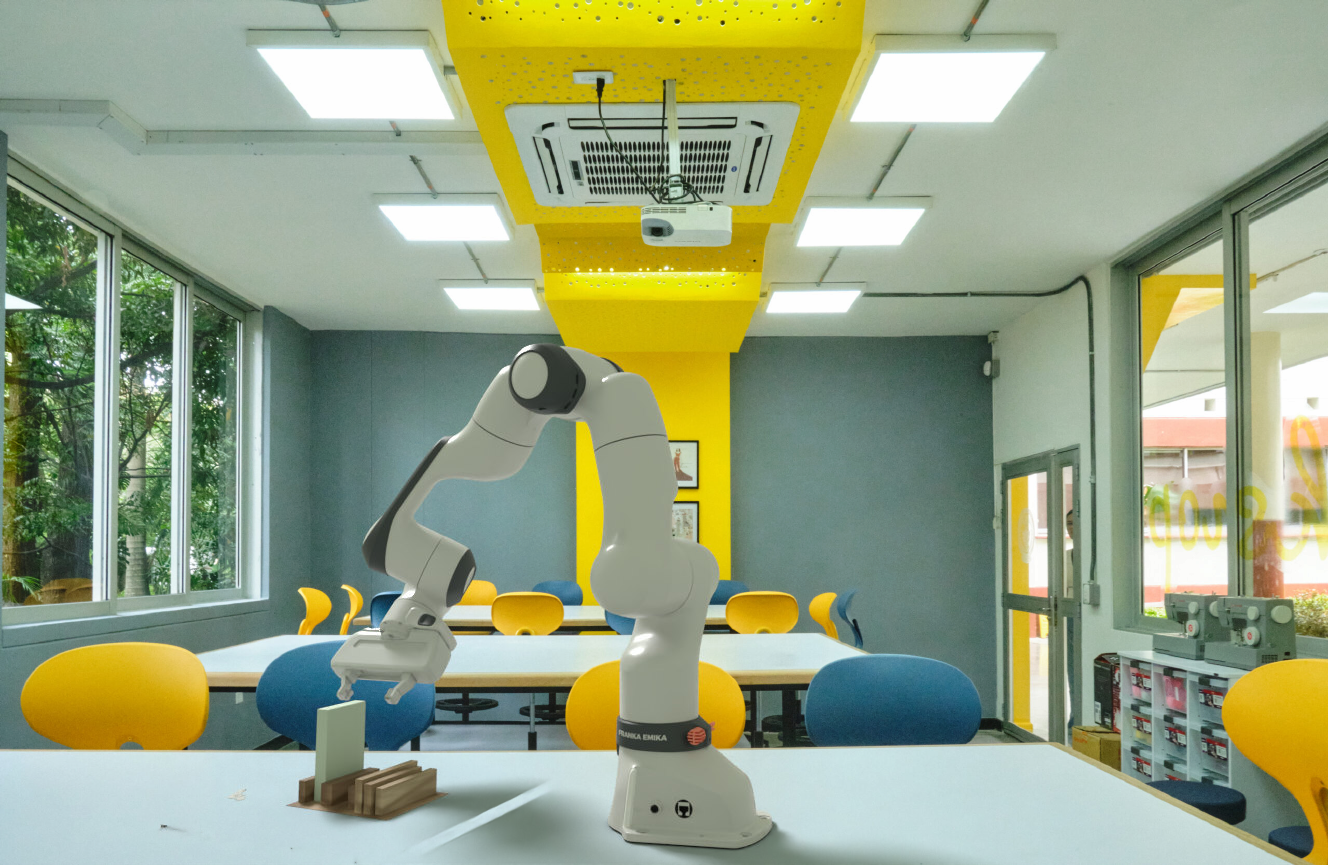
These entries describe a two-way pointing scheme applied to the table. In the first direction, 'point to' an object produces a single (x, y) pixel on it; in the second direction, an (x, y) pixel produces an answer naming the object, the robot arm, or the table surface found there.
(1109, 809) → the table surface
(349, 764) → the pale green flat block
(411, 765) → the offcut rack
